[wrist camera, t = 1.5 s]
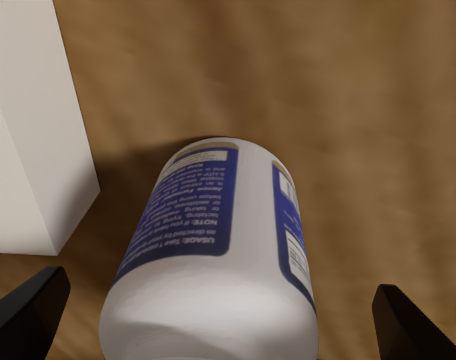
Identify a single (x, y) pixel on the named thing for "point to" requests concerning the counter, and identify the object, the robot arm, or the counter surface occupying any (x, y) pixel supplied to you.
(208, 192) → the pill bottle
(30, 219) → the socket block
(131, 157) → the counter surface
